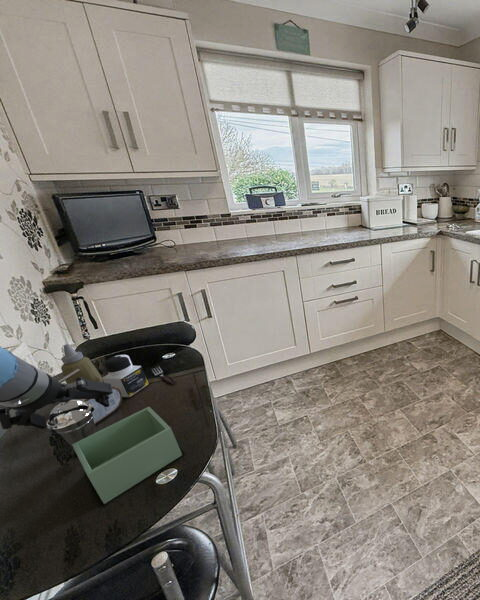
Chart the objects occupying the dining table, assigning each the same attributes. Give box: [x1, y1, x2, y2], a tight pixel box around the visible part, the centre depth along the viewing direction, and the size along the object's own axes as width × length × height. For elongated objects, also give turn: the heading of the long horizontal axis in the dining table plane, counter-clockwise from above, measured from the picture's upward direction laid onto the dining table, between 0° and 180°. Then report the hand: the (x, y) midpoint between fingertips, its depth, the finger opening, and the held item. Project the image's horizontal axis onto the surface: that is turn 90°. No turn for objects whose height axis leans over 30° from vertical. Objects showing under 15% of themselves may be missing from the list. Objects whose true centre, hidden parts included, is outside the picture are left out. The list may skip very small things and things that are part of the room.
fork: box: [151, 365, 174, 386], centre depth 110 cm, size 3×16×2 cm, turn 53°
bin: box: [72, 406, 183, 505], centre depth 74 cm, size 15×15×8 cm
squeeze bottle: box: [60, 343, 104, 384], centre depth 102 cm, size 8×8×18 cm
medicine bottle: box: [102, 354, 149, 398], centre depth 103 cm, size 7×7×12 cm
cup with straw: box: [46, 369, 98, 452], centre depth 78 cm, size 8×9×20 cm
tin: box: [80, 386, 123, 425], centre depth 90 cm, size 15×3×8 cm, turn 168°
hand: (76, 412), depth 81 cm, fingers open, 11 cm apart
